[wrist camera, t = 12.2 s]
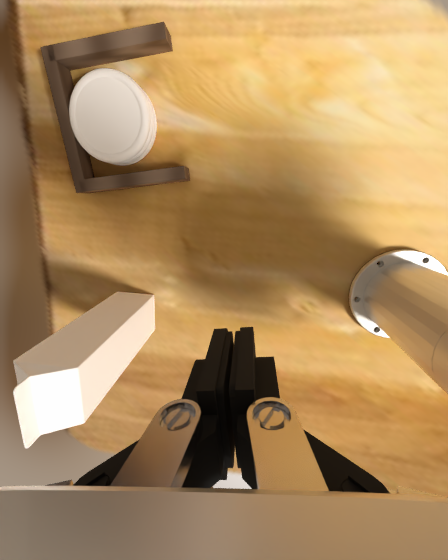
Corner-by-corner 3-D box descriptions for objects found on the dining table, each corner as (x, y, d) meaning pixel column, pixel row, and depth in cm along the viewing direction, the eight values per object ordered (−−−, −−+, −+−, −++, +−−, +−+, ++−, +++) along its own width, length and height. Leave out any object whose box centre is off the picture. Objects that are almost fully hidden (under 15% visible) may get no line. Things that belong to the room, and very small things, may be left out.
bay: (170, 35, 31) (163, 21, 29) (190, 180, 35) (185, 178, 33) (55, 58, 33) (40, 47, 30) (87, 193, 37) (76, 192, 35)
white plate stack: (157, 169, 36) (148, 165, 32) (86, 163, 36) (70, 159, 33) (158, 81, 33) (148, 68, 29) (81, 77, 33) (62, 63, 30)
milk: (119, 325, 43) (-10, 446, 22) (117, 290, 41) (-27, 384, 20) (156, 329, 42) (60, 456, 21) (155, 293, 40) (49, 394, 19)
